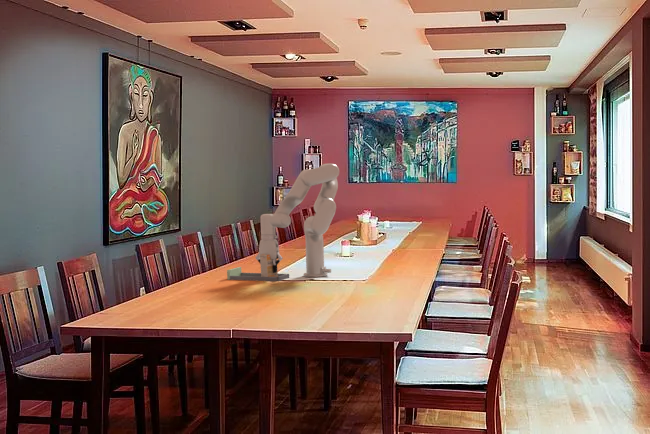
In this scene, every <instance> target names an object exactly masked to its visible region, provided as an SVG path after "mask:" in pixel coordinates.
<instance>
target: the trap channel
mask: <svg viewBox="0 0 650 434" xmlns="http://www.w3.org/2000/svg"><path fill="white" fill-rule="evenodd" d="M226 275H227V277H226V279H227V281H229V280H231V281H253V282H254V281H256V282H257V281H259V282H262V281H263V282H280V281H284V280H286V279H289V278H290V274H289V273H278V277H261V272H243V271H242V266H238V267H235V268H230V269H227V270H226Z"/></svg>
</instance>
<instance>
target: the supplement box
mask: <svg viewBox="0 0 650 434" xmlns="http://www.w3.org/2000/svg"><path fill="white" fill-rule="evenodd" d="M259 265H260V273H261V277H278V274H279V273H278V271H277V272H276V273H273V265H274V264H273V261H272V260H271V259H270V255H269V254H263V255H260V263H259Z"/></svg>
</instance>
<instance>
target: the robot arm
mask: <svg viewBox="0 0 650 434" xmlns="http://www.w3.org/2000/svg"><path fill="white" fill-rule="evenodd" d="M339 175H340V168H339V166H337V164H335V163H322V164H321V165H320V166H319V167H315V168H310V169H307V168H306V169H303V170H301V172H300V173H299V174H298V176H297V178H296V179H295V181H294V183H293V184H292V187H291V188H290V190H289V192H288V193H287V194H286V195H285V197H284V198H283V199H282V201H280V203H279V204H278V207H277V208H276V209H275V212H274V213H263V214H261V215H260V240H259V246H258V254H257V255H256V256H255V260H257V263H259V264H260V255H263V254H269V255H270V259H271V260H272V261H273V264H274V265H273V273H276V272H278V265H279V263H280V262H281V261H282V260H283V259H284V258H283V257H282V255H281V254H280V246H279V242H278V240H277V239H278V238H279V235H277V234H276V228H282V229H285V228H287V227H289V226H290V225H291V223H292V218H291V216H290V214H291V213H292V212H293V210H294V209H295V208H296V207H297V206H298V205H300V204H301V203H302V202H303V201H304V199H305V197H306V196H307V195H308V192H309V190H310V189H311V187H312V186H313V187H314V186H317V185H321V188H320V191H319V193H318V195H317V197H316V200H315V202H314V204H313V211H314V213H315V214H314V215H311V216H308V217H307V218H306V219H305V220H304V223H303V230H304V239H305V263H306V264H305V266H306V267H305V268H306V269H305V271H306V272H304V273H303V276H304V277H306V278H318V277H319V278H320V277H326V276H327V277H328V273H329V274H331V273H332V269H331V268H327V266H325V250H324V249H325V248H324V236H323V235H324V234H325V233H326V232H327V231H328V230H329V228H330V226H331V223H332V221H333V218H334V217H335V214H336V210H337V204H336V202H335V197H336V195H337V192H338V190H339V189H338V188H339V182H338V177H339Z"/></svg>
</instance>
